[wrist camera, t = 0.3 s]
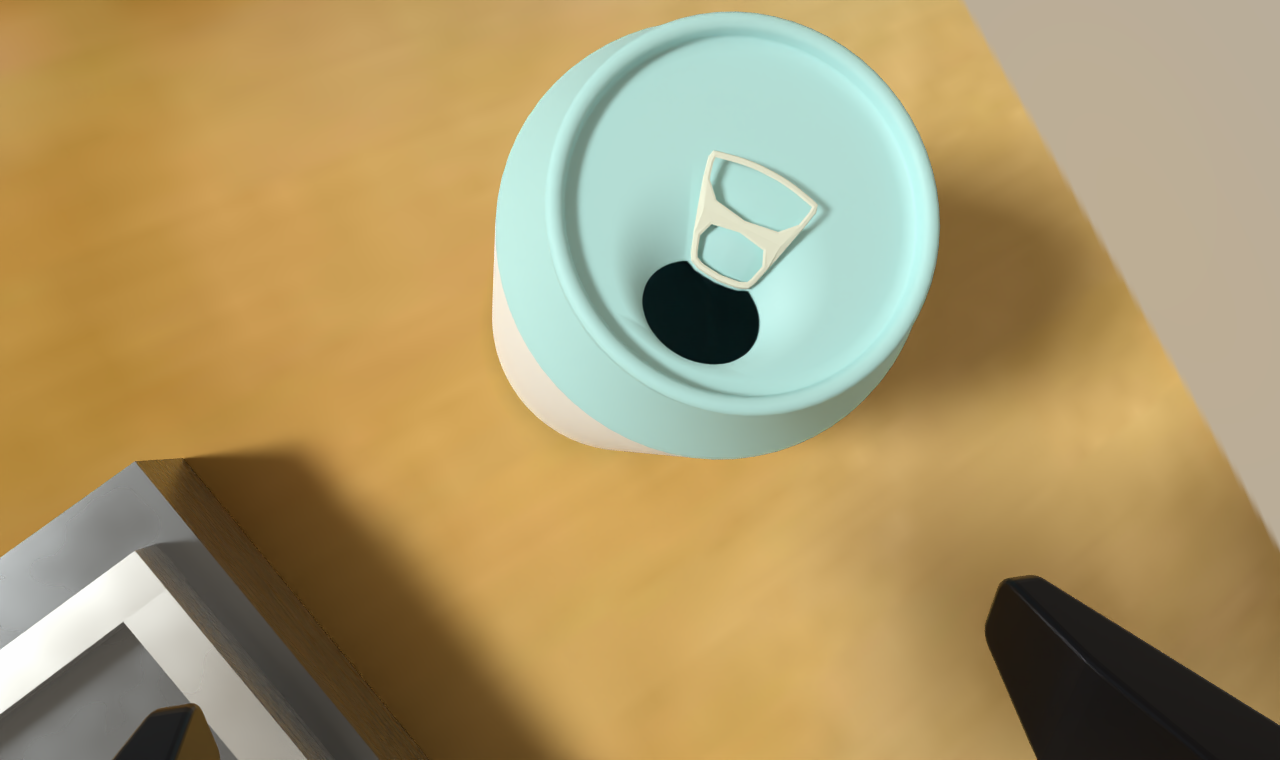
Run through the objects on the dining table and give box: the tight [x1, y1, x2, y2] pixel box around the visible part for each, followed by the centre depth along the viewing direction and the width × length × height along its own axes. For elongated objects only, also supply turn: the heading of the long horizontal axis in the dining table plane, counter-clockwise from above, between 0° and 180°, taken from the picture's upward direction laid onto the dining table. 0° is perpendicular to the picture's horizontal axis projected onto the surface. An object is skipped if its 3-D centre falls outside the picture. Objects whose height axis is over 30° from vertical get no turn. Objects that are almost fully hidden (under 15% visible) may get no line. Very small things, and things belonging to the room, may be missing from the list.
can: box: [492, 12, 940, 459], centre depth 18 cm, size 7×7×12 cm
